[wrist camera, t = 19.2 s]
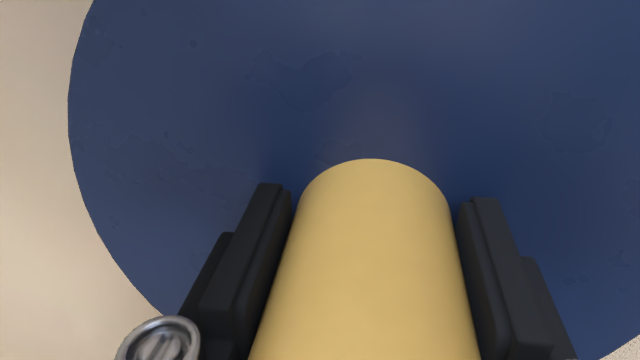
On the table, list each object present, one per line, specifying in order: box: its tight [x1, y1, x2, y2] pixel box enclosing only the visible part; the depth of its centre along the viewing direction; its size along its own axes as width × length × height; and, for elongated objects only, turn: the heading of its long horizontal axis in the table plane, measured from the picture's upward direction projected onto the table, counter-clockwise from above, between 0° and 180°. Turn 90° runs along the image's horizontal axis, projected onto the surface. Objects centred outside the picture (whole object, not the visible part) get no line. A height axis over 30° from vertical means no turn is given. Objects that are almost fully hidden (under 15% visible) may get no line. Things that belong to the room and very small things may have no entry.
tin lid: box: [68, 0, 640, 360], centre depth 9 cm, size 16×16×7 cm
